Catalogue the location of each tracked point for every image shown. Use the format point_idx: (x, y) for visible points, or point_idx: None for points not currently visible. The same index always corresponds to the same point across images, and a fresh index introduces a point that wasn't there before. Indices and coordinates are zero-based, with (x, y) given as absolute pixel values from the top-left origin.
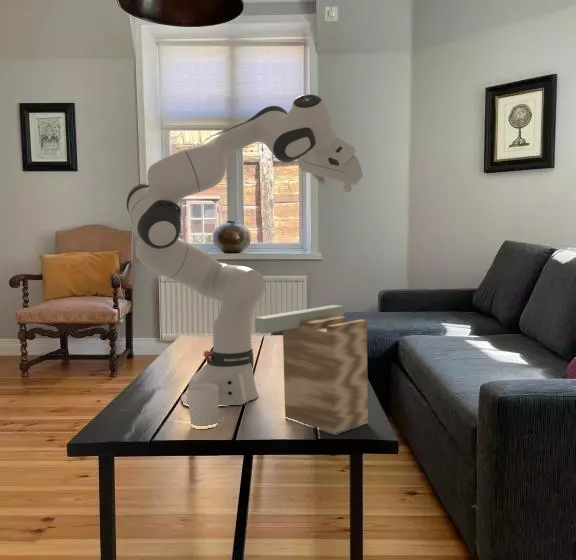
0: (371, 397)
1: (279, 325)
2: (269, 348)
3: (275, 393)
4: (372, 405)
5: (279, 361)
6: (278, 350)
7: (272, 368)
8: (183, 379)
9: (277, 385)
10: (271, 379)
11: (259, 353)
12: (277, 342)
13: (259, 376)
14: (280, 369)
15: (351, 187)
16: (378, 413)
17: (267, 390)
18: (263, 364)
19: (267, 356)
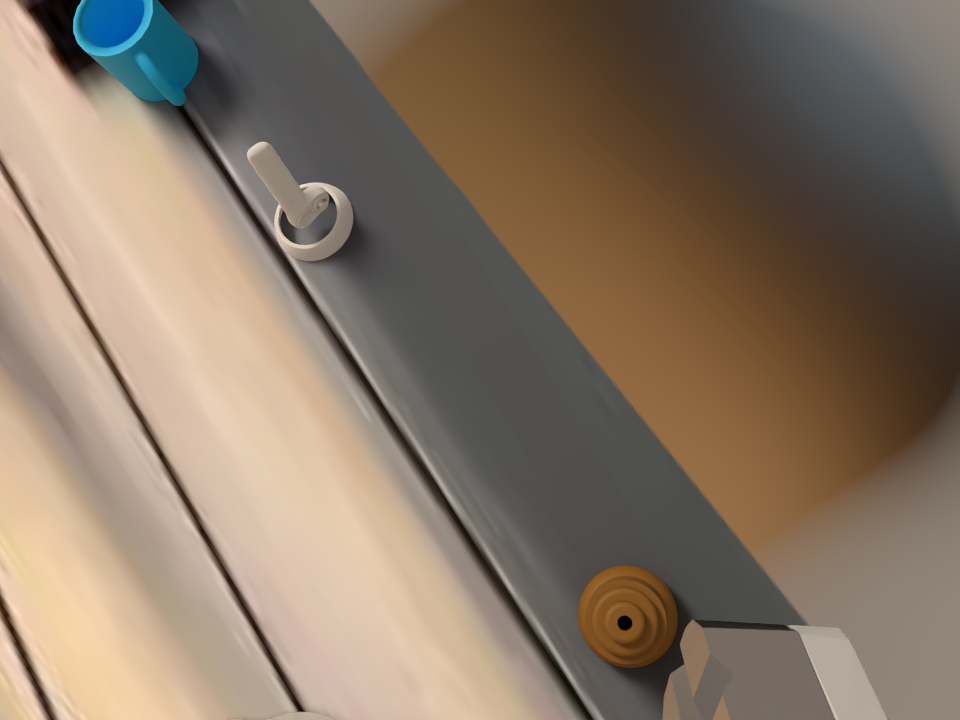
0: (739, 547)
1: None
2: (36, 153)
3: (405, 685)
4: None
5: (173, 295)
6: (82, 159)
7: (206, 395)
8: (7, 700)
9: (352, 588)
10: (287, 529)
11: (44, 236)
12: (13, 59)
13: (226, 517)
14: (239, 392)
15: (854, 663)
16: None
17: (357, 666)
18: (145, 365)
19: (94, 258)
